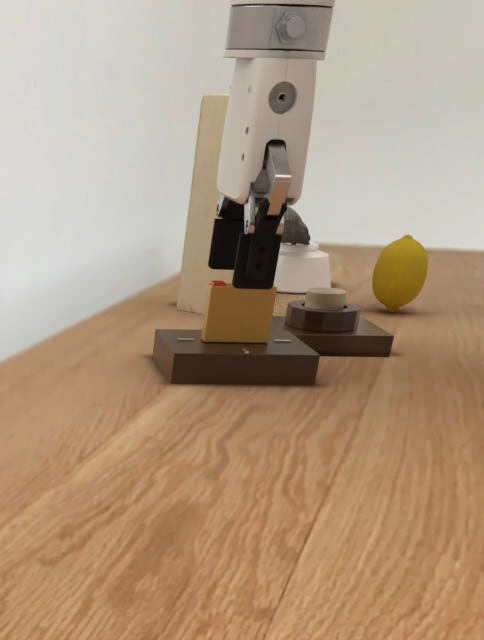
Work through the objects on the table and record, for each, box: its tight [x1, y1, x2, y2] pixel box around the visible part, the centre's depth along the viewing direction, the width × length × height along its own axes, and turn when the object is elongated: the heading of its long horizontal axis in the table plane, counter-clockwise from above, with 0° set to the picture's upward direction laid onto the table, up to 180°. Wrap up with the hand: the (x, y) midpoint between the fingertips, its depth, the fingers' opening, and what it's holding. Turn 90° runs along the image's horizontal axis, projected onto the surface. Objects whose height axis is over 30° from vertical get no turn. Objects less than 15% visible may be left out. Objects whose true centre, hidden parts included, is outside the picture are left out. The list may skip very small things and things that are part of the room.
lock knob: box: [201, 280, 277, 343], centre depth 94 cm, size 6×2×5 cm, turn 89°
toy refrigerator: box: [176, 92, 258, 315], centre depth 119 cm, size 8×7×21 cm
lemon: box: [371, 234, 429, 313], centre depth 122 cm, size 6×6×8 cm
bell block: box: [270, 298, 395, 358], centre depth 106 cm, size 11×9×4 cm
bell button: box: [304, 287, 348, 310], centre depth 105 cm, size 4×4×2 cm
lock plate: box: [151, 328, 321, 387], centre depth 96 cm, size 12×10×3 cm
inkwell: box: [274, 205, 332, 294], centre depth 132 cm, size 9×18×10 cm, turn 150°
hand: (238, 278), depth 93 cm, fingers open, 9 cm apart
